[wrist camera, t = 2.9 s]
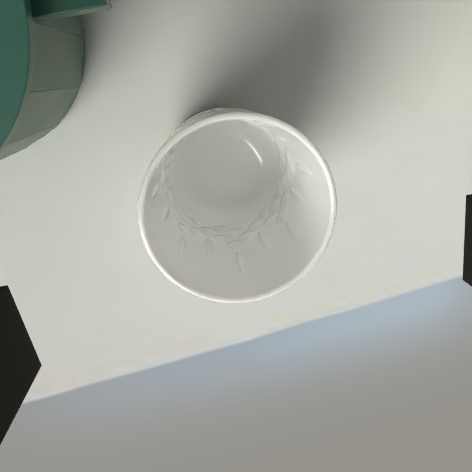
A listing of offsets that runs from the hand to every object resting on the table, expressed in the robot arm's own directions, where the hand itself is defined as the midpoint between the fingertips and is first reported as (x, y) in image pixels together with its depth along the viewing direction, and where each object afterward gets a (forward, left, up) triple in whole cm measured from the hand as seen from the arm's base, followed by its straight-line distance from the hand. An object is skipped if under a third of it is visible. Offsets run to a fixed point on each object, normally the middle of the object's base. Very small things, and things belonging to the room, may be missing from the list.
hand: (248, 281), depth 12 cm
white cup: (0, 0, -15) cm, 15 cm away
